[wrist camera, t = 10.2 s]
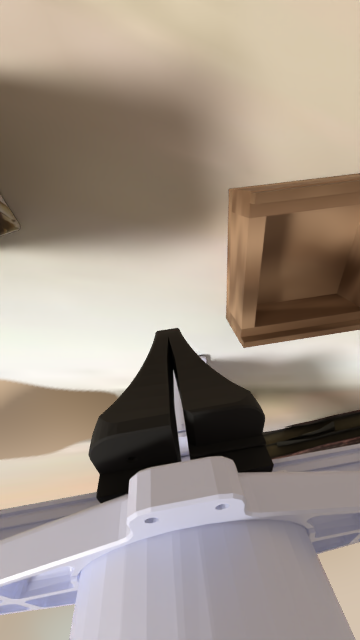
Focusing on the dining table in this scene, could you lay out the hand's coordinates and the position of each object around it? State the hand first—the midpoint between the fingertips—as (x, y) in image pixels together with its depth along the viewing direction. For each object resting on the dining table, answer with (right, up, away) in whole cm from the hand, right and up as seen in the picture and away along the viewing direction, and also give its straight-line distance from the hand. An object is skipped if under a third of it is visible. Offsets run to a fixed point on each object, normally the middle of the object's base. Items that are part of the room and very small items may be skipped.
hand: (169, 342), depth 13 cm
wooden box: (+12, +8, +8) cm, 16 cm away
